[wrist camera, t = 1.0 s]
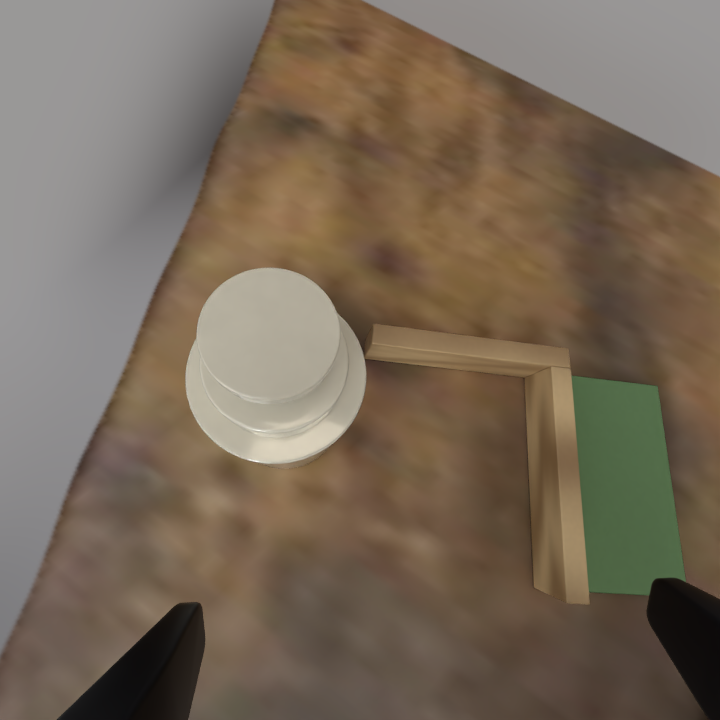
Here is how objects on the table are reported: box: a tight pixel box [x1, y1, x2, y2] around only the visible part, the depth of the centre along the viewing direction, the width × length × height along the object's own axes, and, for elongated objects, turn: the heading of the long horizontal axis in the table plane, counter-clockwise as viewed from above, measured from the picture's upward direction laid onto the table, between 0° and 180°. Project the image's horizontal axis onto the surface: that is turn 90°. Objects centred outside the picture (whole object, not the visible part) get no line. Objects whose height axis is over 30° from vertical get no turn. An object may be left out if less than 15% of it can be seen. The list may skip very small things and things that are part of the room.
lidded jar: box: [185, 268, 366, 469], centre depth 16 cm, size 6×6×13 cm
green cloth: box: [572, 376, 686, 595], centre depth 23 cm, size 12×6×1 cm, turn 175°
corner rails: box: [364, 324, 590, 604], centre depth 21 cm, size 13×11×3 cm
